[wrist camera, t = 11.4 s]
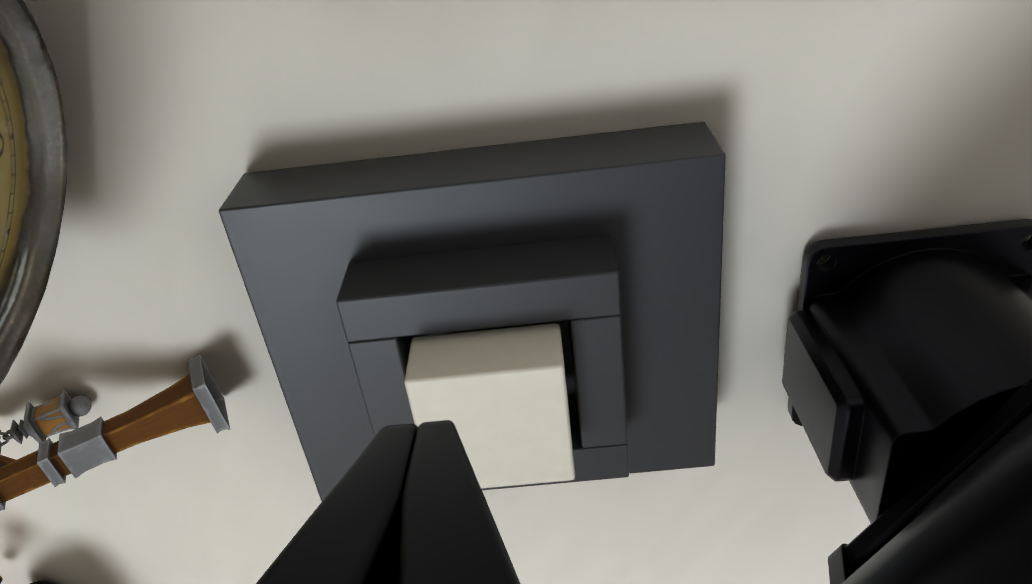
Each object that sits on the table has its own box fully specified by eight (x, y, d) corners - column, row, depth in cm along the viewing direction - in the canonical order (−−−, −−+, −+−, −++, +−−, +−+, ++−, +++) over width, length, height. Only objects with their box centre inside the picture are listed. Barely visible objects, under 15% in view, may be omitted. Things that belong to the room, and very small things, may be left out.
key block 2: (704, 120, 20) (747, 186, 16) (699, 417, 25) (730, 513, 22) (243, 172, 20) (191, 246, 17) (334, 451, 26) (308, 550, 22)
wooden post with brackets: (-71, 420, 23) (-107, 518, 20) (193, 315, 25) (205, 387, 22) (-36, 462, 24) (-64, 563, 21) (216, 358, 26) (231, 434, 23)
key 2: (559, 321, 18) (564, 366, 17) (570, 432, 20) (575, 481, 19) (410, 335, 19) (403, 381, 17) (436, 445, 21) (430, 494, 19)
